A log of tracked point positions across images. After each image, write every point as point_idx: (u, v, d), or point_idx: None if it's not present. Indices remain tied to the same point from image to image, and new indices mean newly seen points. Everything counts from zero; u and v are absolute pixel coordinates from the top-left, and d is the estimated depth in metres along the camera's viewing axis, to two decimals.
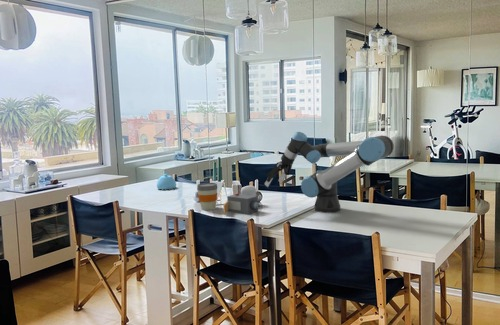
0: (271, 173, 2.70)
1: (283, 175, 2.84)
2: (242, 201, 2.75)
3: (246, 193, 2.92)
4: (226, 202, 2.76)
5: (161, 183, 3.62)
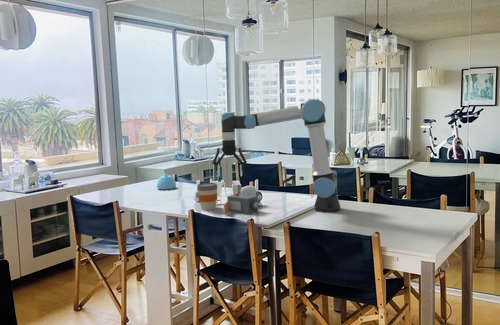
0: (214, 159, 2.73)
1: (240, 167, 2.72)
2: (242, 201, 2.75)
3: (246, 193, 2.92)
4: (226, 202, 2.76)
5: (161, 183, 3.62)
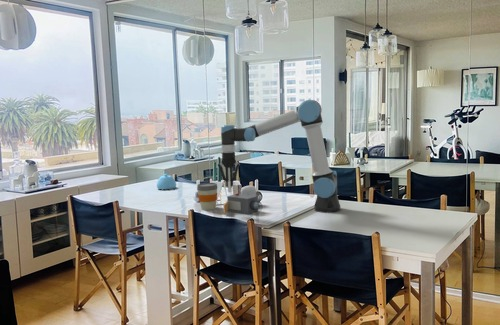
0: None
1: None
2: (242, 201, 2.75)
3: (246, 193, 2.92)
4: (226, 202, 2.76)
5: (161, 183, 3.62)
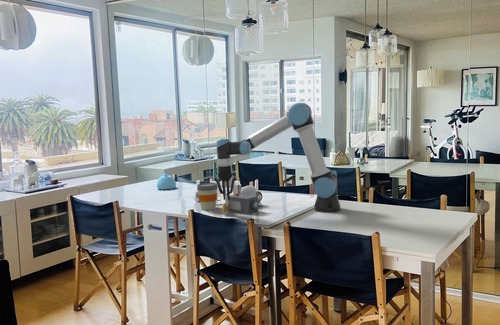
0: None
1: None
2: (242, 201, 2.75)
3: (246, 193, 2.92)
4: None
5: (161, 183, 3.62)
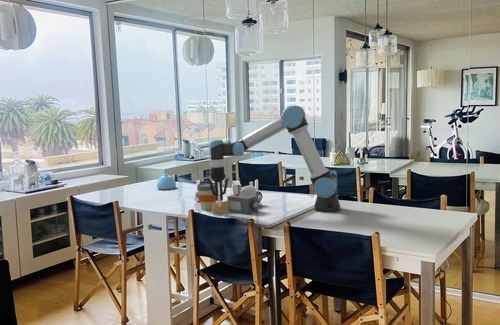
0: None
1: None
2: (242, 201, 2.75)
3: (246, 193, 2.92)
4: None
5: (161, 183, 3.62)
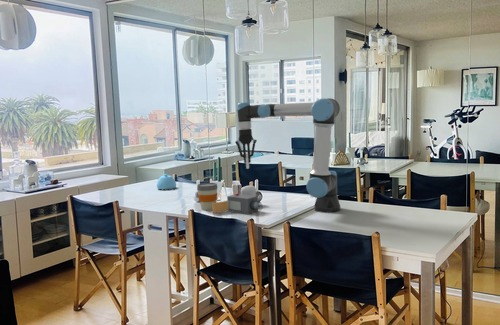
0: (239, 152, 2.79)
1: None
2: (242, 201, 2.75)
3: (246, 193, 2.92)
4: None
5: (161, 183, 3.62)
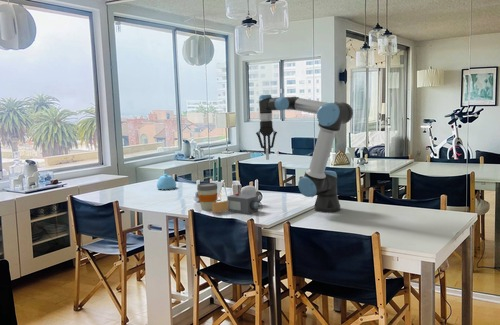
0: (260, 144, 2.85)
1: None
2: (242, 201, 2.75)
3: (246, 193, 2.92)
4: None
5: (161, 183, 3.62)
